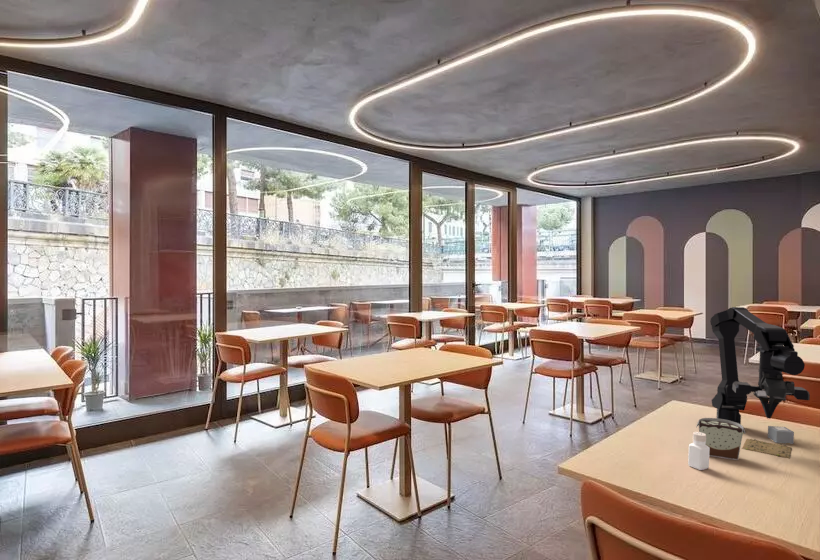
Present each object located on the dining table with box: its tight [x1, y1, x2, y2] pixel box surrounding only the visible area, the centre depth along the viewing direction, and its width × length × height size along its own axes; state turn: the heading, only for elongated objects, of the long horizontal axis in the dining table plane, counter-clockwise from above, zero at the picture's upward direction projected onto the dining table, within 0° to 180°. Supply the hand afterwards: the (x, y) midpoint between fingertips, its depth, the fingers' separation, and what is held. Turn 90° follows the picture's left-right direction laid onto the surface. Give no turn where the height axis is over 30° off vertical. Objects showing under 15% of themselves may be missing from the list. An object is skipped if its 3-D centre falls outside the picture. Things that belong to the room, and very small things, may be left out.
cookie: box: [741, 438, 793, 460], centre depth 155 cm, size 12×12×1 cm
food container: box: [695, 417, 746, 461], centre depth 150 cm, size 12×6×10 cm, turn 65°
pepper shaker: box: [687, 431, 710, 471], centre depth 139 cm, size 4×4×10 cm
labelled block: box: [767, 425, 795, 445], centre depth 162 cm, size 5×5×4 cm
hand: (768, 418), depth 155 cm, fingers closed
